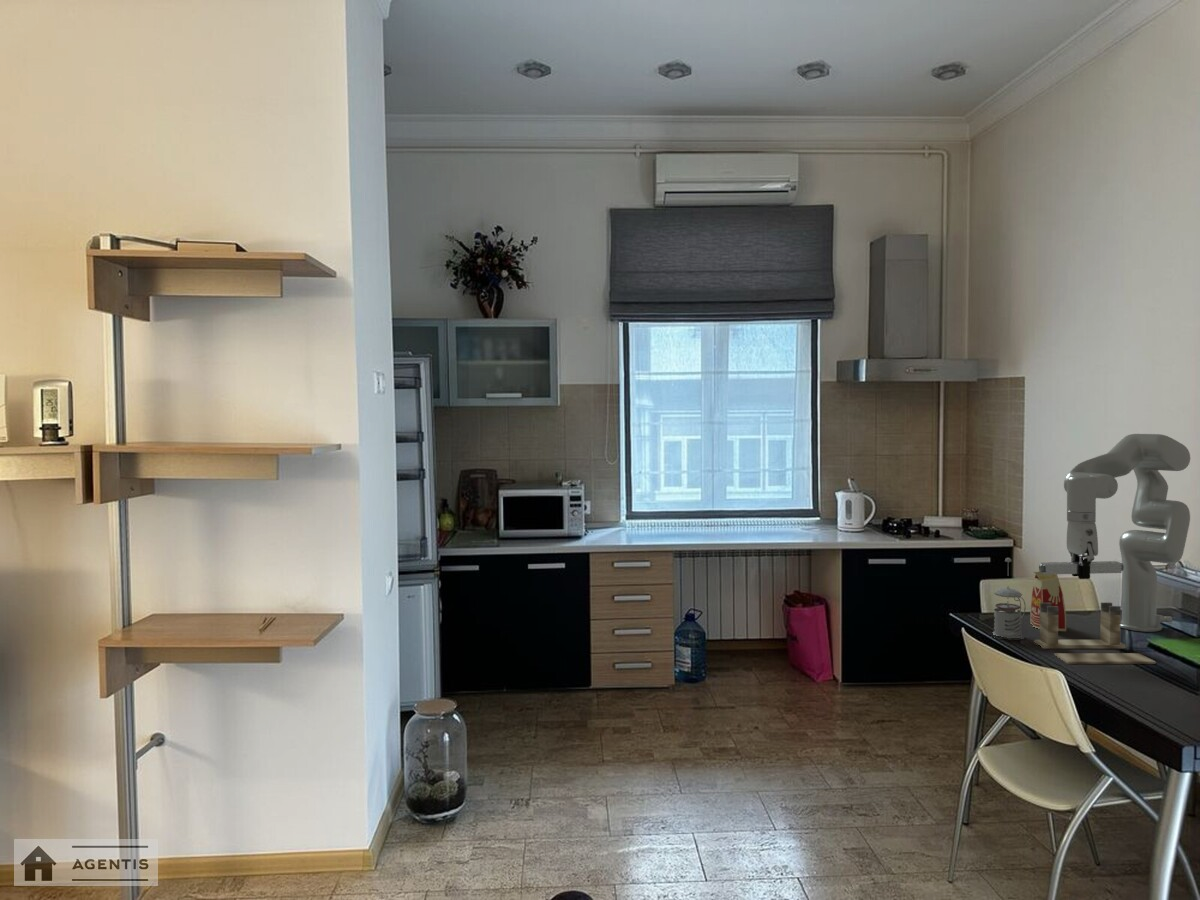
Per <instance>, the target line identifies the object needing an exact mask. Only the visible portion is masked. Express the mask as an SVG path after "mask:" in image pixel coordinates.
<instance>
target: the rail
mask: <svg viewBox="0 0 1200 900" xmlns="http://www.w3.org/2000/svg"><path fill="white" fill-rule="evenodd" d="M1078 566H1080V562H1071V561H1062V562H1061V561H1060V562H1059V561H1057V562H1056V561H1055V562H1054V561H1053V562H1049V561H1047V562H1040V564H1039V565H1038V570H1039V571H1040V572H1041V573H1044V574H1057V575H1072V574H1078ZM1123 569H1124V566H1123V564H1122V562H1119V561H1118V560H1112V561H1111V560H1108V561H1107V560H1106V561H1103V560H1102V561H1101V560H1100V561H1092V562H1091V566H1090V575H1091V574H1093V575H1094V574H1122V572H1123Z"/></svg>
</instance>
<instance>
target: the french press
mask: <svg viewBox="0 0 1200 900" xmlns="http://www.w3.org/2000/svg"><path fill="white" fill-rule="evenodd" d="M1012 561H1013V560H1012V559H1011V558H1010V557H1006V558H1005V560H1004V562H1006V563H1007V575H1009V569H1010V568H1009V563H1011V562H1012ZM993 594H994V595H995V596H998V597H1002V598H1013V600H1014V601H1015V602H1019V604H1015V603H1008V602H1007V603H1006V602H1005V603H1003V602H1002V603H996V604H995V607H996V608H994V611H993V612H994V613H993V616H994V617H993V621H994V622H993V629H994V630H993V632H992V633H993V635H996V636H1001V637H1007V638H1020V637H1022V636H1024V635H1023V634H1022V619H1023V618H1024V616H1025V613H1026V607H1024V610H1023V614H1022V603H1021V600H1022V601H1023V604H1024V606H1026V602H1025V599H1024V598H1023V597H1022V596H1023V593H1022V592H1021V591H1019V590H1017V589H1015V588H1011V587H1004V588H999V589H996V590H994V592H993ZM1016 610H1017V612H1016Z"/></svg>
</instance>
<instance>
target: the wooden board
mask: <svg viewBox="0 0 1200 900" xmlns="http://www.w3.org/2000/svg"><path fill="white" fill-rule="evenodd" d="M1053 654H1054V655H1055V656H1054V655H1053V656H1054V657H1056V656H1057V657H1056V658H1058V659H1059V658H1060V659H1059V660H1061V661H1062V660H1063V662H1064V663H1066V664H1068V665H1069V664H1071V665H1074V664H1075V665H1078V664H1079V665H1080V664H1083V665H1085V664H1086V665H1087V664H1089V665H1090V664H1091V665H1092V664H1093V665H1094V664H1096V665H1097V664H1102V665H1104V664H1105V665H1106V664H1108V665H1109V664H1110V665H1111V664H1113V665H1114V664H1115V665H1118V664H1119V665H1120V664H1123V665H1127V664H1131V665H1133V664H1135V665H1136V664H1137V665H1140V664H1141V665H1142V664H1143V665H1144V664H1145V665H1147V664H1149V665H1152V664H1153V665H1155V664H1156V663H1157V662H1156V661H1155V659H1154V660H1153V659H1151V658H1149V657H1147V656H1145V655H1144V654H1142V653H1140V652H1137V653H1135V652H1130V653H1128V652H1127V653H1125V652H1120V653H1119V652H1117V653H1115V652H1112V653H1111V652H1110V653H1109V652H1108V653H1106V652H1104V653H1101V652H1100V653H1099V652H1092V653H1091V652H1090V653H1088V652H1085V653H1083V652H1082V653H1081V652H1080V653H1079V652H1076V653H1075V652H1071V653H1070V652H1068V653H1065V652H1064V653H1063V652H1062V653H1061V652H1059V653H1058V652H1056V653H1055V652H1054V653H1053Z"/></svg>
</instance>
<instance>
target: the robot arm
mask: <svg viewBox="0 0 1200 900" xmlns="http://www.w3.org/2000/svg"><path fill="white" fill-rule="evenodd" d="M1190 461H1191V453H1190V450H1189V449H1188V448H1187V447H1186V446H1185V444H1183V443H1181V442H1180V441H1178V440H1176V439H1174V438H1172V437H1170V436H1169V435H1165V434H1160V433H1132V434H1127V435H1126V436H1124V437H1122V439H1121V440H1119V442H1117V443H1116V444H1115V445H1114V446H1113V447H1112V448H1111V449H1110V450H1109V451H1108V452H1107V453H1104V454H1100V455H1097V456H1095V457H1092V458H1089V459H1086V460H1084V461H1082V462H1079V463H1077V465H1075V466H1074V467H1073V468H1072V469H1071V470H1069V472H1068V473H1067V475H1066V476H1065V478H1064V480H1063V481H1064V482H1063V488H1064V489H1063V490H1064V491H1065V492H1066V522H1067V528H1066V549H1067V552H1068V553H1069V554H1070V557H1071V558H1070V559H1071V560H1070V562H1080V566H1078V574H1071V575H1072V577H1078V579H1079V580H1090V579H1091V574H1090V566H1091V562H1094V560H1095V557H1096V556H1097V557H1098V555H1099V540H1098V531H1097V525H1096V524H1097V523H1096V522H1097V521H1096V519H1097V518H1096V516H1097V515H1096V513H1097V512H1096V505H1097V501H1096V499H1109V498H1112V497H1113V496H1115V494H1116V493H1117V491H1118V490H1119V489H1118V488H1119V485H1118V484H1119V483H1118V480H1117V479H1116V478H1120V477H1124V476H1126V475H1128V474H1130V473H1131V472H1132V471H1133V472H1134V474H1135V477H1136V483H1137V484H1136V492H1135V495H1134V496H1135V497H1134V499H1133V500H1134V501H1133V506H1132V509H1131V517H1130V518H1131V521H1132V523H1133V524H1134V525H1136V526H1138V527H1142V528H1147V529H1157V530H1163V531H1164V530H1166V531H1165V532H1160V531H1153V530H1150V531H1149V530H1140V529H1131V530H1126V531H1124V532H1123V533H1122V534H1121V536H1120V537H1119V542H1118V545H1119V551H1120V556H1121V563H1122V564H1123V566H1124V569H1123V571H1122V572H1121V574H1122V581H1121V582H1122V583H1121V588H1122V589H1121V623H1120V629H1125V630H1130V631H1134V632H1135V631H1136V632H1145V633H1146V632H1147V633H1148V632H1149V633H1150V632H1151V633H1152V632H1160V631H1162V630H1163V626H1162V623H1172V622H1173V617H1172V616H1169V615H1167V616H1164V615H1161V614H1158V613H1157V603H1158V602H1157V599H1158V598H1157V596H1158V594H1157V593H1158V573H1157V570H1156V568H1155V567H1154V565H1153V564H1152V562H1155V563H1161V564H1168V565H1170V564H1171V565H1172V564H1173V565H1175V564H1177V563H1179V562H1180V561H1181V559H1182V557H1183V555H1184V551H1185V546H1186V542H1187V537H1188V532H1189V529H1190V521H1191V512H1190V509H1189V507H1188V505H1187V504H1186V503H1185V502H1182V501H1179V500H1171V499H1167V497H1168V491H1169V485H1168V482H1167V480H1166V479H1165V477H1164V476H1163V475H1162V473H1161V472H1160V471H1170V472H1181V471H1184V470H1185V469H1187V468H1188V466H1189V465H1190V463H1191V462H1190Z"/></svg>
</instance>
